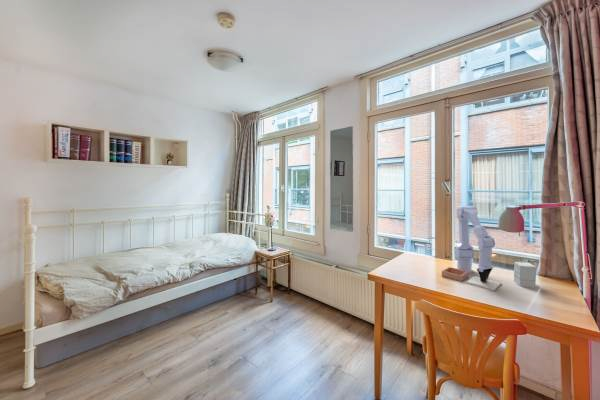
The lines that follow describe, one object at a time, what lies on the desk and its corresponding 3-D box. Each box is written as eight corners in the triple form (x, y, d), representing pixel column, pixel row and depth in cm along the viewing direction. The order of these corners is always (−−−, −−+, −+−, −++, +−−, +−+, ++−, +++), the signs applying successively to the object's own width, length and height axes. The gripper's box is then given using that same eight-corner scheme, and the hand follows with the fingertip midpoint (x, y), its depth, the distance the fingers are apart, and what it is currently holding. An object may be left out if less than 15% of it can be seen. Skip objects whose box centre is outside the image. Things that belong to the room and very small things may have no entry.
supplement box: (528, 283, 145) (529, 262, 144) (535, 288, 138) (537, 267, 137) (512, 282, 148) (514, 261, 147) (519, 287, 141) (520, 265, 140)
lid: (474, 277, 154) (474, 271, 154) (500, 284, 144) (501, 277, 143) (467, 283, 146) (467, 276, 145) (494, 290, 136) (494, 283, 135)
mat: (473, 277, 155) (474, 276, 155) (502, 285, 144) (502, 284, 144) (465, 284, 146) (465, 283, 146) (495, 292, 135) (495, 291, 135)
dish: (448, 272, 164) (448, 266, 163) (467, 277, 155) (468, 271, 155) (441, 277, 157) (441, 270, 156) (461, 282, 148) (461, 276, 148)
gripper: (489, 262, 136) (488, 286, 137) (497, 256, 145) (496, 279, 146) (474, 259, 141) (473, 282, 143) (482, 254, 150) (481, 275, 152)
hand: (484, 280), depth 145 cm, fingers closed on lid, 3 cm apart
